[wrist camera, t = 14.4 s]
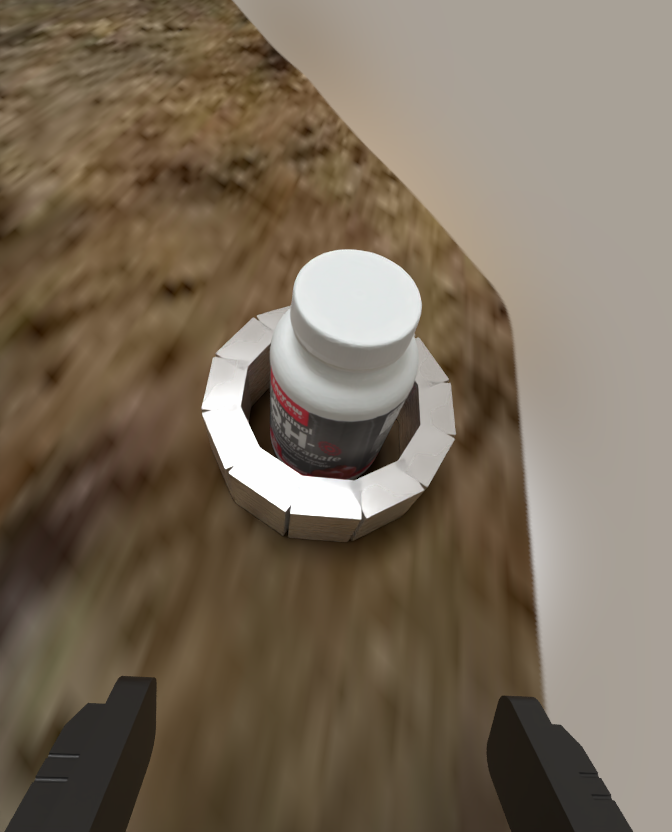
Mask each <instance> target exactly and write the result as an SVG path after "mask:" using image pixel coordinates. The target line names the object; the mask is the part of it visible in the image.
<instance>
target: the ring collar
mask: <svg viewBox="0 0 672 832" xmlns="http://www.w3.org/2000/svg"><path fill="white" fill-rule="evenodd" d="M290 308H291V306H288V307H284V308H281V309H278V310H274V311H271V312H267V313H264V314H260V315H257V320H256V319H255V318H252V319H251V320H250V321H249V322H248V323H247V324H246V325H245V326H244V327H243V328H242V329H241V330H240V331H239V332H238V333H236V334H235V335H234V336H233V337H232V338H231V339H230V340H229V341H228V342H227V343H226V344H225V345H224V346H223V347H222V348H221V349H220V350H219V351H218V352H217V353H216V357H213V361H212V366H211V370H210V374H209V379H208V383H207V387H206V392H205V396H204V401H203V405H202V412H203V413H202V415H203V419H204V423H205V426H206V430H207V433H208V437H209V441H210V444H211V448H212V451H213V453H214V456H215V458H216V461H217V463H218V465H219V468H220V470H221V473H222V475H223V477H224V480H225V482H226V485H227V487H228V489H229V492H230V494H231V497H232V499H235V503H237V504H238V505H239V506H241V507H242V508H244V509H245V510H247V511H248V512H250V513H251V514H252V515H254V516H255V517H257V518H258V519H260V520H261V521H262V522H264V523H265V524H267V525H268V526H270V527H271V528H272V529H274V530H275V531H277V532H278V533H280V534H281V535H282V536H284V534H285V533H286V532H287V530H288V529H289V530H288V538H298V539H311V540H323V541H336V542H348V540H349V539H351V541H354V540H356V539H358V538H360V537H362V536H364V535H366V534H368V533H370V532H372V531H374V530H376V529H378V528H380V527H382V526H384V525H386V524H388V523H390V522H392V521H394V520H396V519H398V518H400V517H402V515H403V514H405V513H406V511H407V510H408V509H409V508H410V507H411V506H412V505H413V503H414V502H415V501H416V500H417V499H418V498H419V496H420V495H421V494H422V493H423V492H424V491H425V489H426V488H427V487H428V485H429V484H430V482H431V480H432V478H433V477H434V475H435V473H436V471H437V470H438V468H439V466H440V464H441V462H442V461H443V459H444V457H445V455H446V454H447V452H448V450H449V448H450V447H451V445H452V443H453V441H454V438H453V437H454V436H455V435H456V433H455V423H454V413H453V402H452V392H451V383H447V382H448V381H449V379H448V377H447V376H446V375H445V373H444V372H443V370H442V369H441V368H440V366H439V365H438V363H437V362H436V361H435V359H434V358H433V356H432V355H431V354H430V352H429V351H428V349H427V348H426V347H425V345H424V344H423V343H422V341H421V340H420V338H419V337H418V338H415V341H416V344H417V347H418V353H419V365H418V371H417V375H416V378H415V381H414V384H413V387H412V389H411V391H410V393H409V395H408V397H407V398H406V400H405V402H404V404H403V406H402V408H401V410H400V412H399V414H398V416H397V417H396V419H397V420H398V422H399V444H400V458H399V460H398V461H396V462H394V463H392V464H390V465H387V466H385V467H383V468H381V469H379V470H376V471H374V472H372V473H370V474H368V475H365V476H363V477H361V478H359V479H356V480H344V479H333V478H322V477H311V476H302V475H300V474H299V473H297V472H296V471H294V470H293V469H291V468H290V467H288V466H287V465H285V464H284V463H282V462H281V461H279V460H278V459H276V458H275V457H273V456H272V455H270V454H269V453H267V452H266V451H264V450H263V449H261V448H260V447H259V445H258V443H257V441H256V439H255V436H254V434H253V432H252V430H251V428H250V426H249V424H248V423H249V417H250V411H251V407H252V406H253V405H254V404H255V403H256V402H257V401H258V399H259V398H260V397H261V396H262V395H263V394H264V393H265V392H266V391H267V390H268V388H269V387H270V346H271V340H272V336H273V333H274V330H275V328H276V326H277V324H278V322H279V320H280V319H281V318H282V316H283V315H284V314H285V313H286V312H287V311H288V309H290ZM414 337H415V334H414Z"/></svg>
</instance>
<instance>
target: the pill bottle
mask: <svg viewBox="0 0 672 832" xmlns="http://www.w3.org/2000/svg"><path fill="white" fill-rule="evenodd" d="M421 309H422V304H421V297H420V293H419V291H418V288H417V286H416V284H415V283H414V281H413V280H412V278H411V277H410V276H409V275H408V274H407V273H406V272H405V271H404V270H403V269H402V268H401V267H400V266H398V265H397V264H395V263H394V262H392V261H390V260H388V259H386V258H384V257H382V256H380V255H377V254H374V253H371V252H366V251H360V250H336V251H331V252H327V253H324V254H322V255H319V256H317V257H316V258H314V259H312V260H311V261H309V262H308V263H307V264H306V265H305V266H304V267H303V268H302V269H301V271H300V272H299V274H298V276H297V278H296V280H295V284H294V288H293V296H292V303H291V308H290V309H288V311H287V312H286V313H285V314H284V315H283V316H282V318H281V319H280V320H279V322H278V324H277V326H276V328H275V330H274V333H273V336H272V340H271V346H270V435H271V442H272V446H273V449H274V451H275V454H276V456H277V457H278V459H279V461H281V462H282V463H284V464H285V465H287V466H288V467H290V468H291V469H293V470H294V471H296V472H297V473H299V474H300V475H302V476H311V477H322V478H333V479H344V480H354V479H356V478H357V477H359V476H360V475H361V474H363V473H364V472H365V471H366V470H367V469H368V468H369V467H370V466H371V464H372V463H373V461H374V460H375V458H376V456H377V455H378V453H379V451H380V449H381V447H382V445H383V443H384V441H385V439H386V437H387V435H388V433H389V431H390V429H391V427H392V425H393V423H394V421H395V419H396V417H397V416H398V414H399V412H400V410H401V408H402V406H403V404H404V402H405V400H406V398H407V397H408V395H409V393H410V391H411V389H412V387H413V384H414V381H415V378H416V375H417V371H418V365H419V353H418V347H417V344H416V341H415V338H414V333H415V330H416V327H417V325H418V322H419V319H420V316H421Z"/></svg>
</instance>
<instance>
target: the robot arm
mask: <svg viewBox="0 0 672 832" xmlns="http://www.w3.org/2000/svg"><path fill="white" fill-rule="evenodd" d="M155 732H156V678H152V677H131V676H121V677H119V679H118V680H117V682H116V683H115V685H114V687H113V689H112V691H111V693H110V695H109V697H108V699H107V701H106V703H105V704H96V703H87V704H86V705H85V706H84V707H83V708H82V709H81V710H80V711H79V712H78V713H77V714H76V715H75V716H74V717H73V718H72V719H71V720H70V721H69V722H68V723H67V724H66V725H65V726H64V728H63V729H62V731H61V733H60V735H59V736H58V738H57V740H56V742H55V744H54V745H53V747H52V749H51V751H50V752H49V756H48V758H46V759H45V761H44V763H43V765H42V766H41V768H40V770H39V772H38V774H37V775H36V779H35V781H34V782H32V784H31V786H30V788H29V789H28V791H27V793H26V795H25V796H24V798H23V800H22V802H21V803H20V805H19V807H18V809H17V811H16V812H15V814H14V816H13V818H12V819H11V821H10V823H9V825H8V826H7V828H6V830H5V832H125V831H126V829H127V826H128V823H129V820H130V817H131V814H132V811H133V808H134V805H135V802H136V799H137V796H138V794H139V791H140V788H141V785H142V782H143V779H144V776H145V773H146V770H147V767H148V764H149V761H150V758H151V754H152V750H153V745H154V739H155ZM487 762H488V768H489V772H490V776H491V778H492V781H493V784H494V787H495V789H496V792H497V795H498V797H499V800H500V803H501V805H502V808H503V811H504V813H505V816H506V819H507V821H508V824H509V827H510V829H511V832H633V831H632V829H631V827H630V826H629V824H628V823H627V821H626V819H625V817H624V816H623V814H622V812H621V811H620V809H619V807H618V806H617V804H616V802H615V801H613V800H612V799H611V794H610V792H609V791H608V789H607V787H606V786H605V784H604V782H603V781H602V779H601V778H599V777H598V772H597V771H596V769H595V767H594V766H593V764H592V762H591V761H590V759H589V757H588V756H587V754H586V752H585V751H584V749H583V747H582V746H581V745H580V744H579V743H578V742H577V741H576V740H575V739H574V738H573V737H572V736H571V735H570V734H569V733H568V732H567V731H566V730H565V729H564V728H563V727H562V726H561V725H555V724H551V722H550V720H549V718H548V716H547V715H546V713H545V711H544V709H543V707H542V706H541V704H540V703H539V701H538V700H537V699H536V698H534V697H522V696H501V697H500V699H499V701H498V705H497V709H496V712H495V716H494V720H493V724H492V727H491V731H490V735H489V738H488V742H487Z"/></svg>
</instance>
